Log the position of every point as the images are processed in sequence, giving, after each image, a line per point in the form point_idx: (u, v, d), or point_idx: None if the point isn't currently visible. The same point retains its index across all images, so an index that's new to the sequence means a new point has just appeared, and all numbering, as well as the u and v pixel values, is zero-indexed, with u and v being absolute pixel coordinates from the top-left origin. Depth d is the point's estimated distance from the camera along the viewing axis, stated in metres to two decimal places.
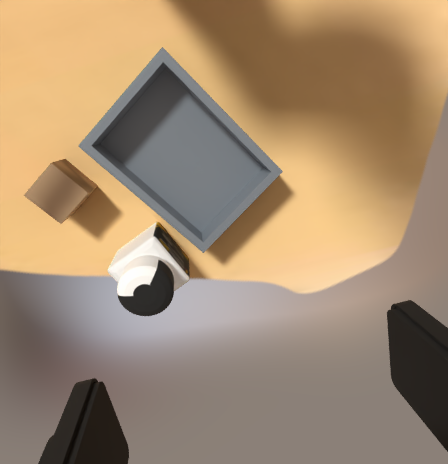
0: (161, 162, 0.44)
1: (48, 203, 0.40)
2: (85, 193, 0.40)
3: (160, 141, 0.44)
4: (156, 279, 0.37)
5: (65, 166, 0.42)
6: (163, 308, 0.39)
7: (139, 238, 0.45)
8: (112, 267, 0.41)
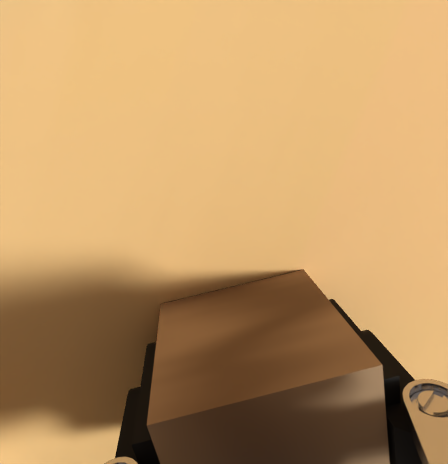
0: None
1: (273, 433, 0.07)
2: None
3: None
4: None
5: None
6: None
7: None
8: None
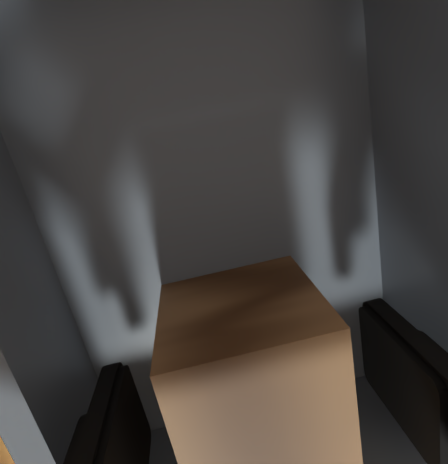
0: (291, 244, 0.13)
1: (258, 386, 0.09)
2: None
3: None
4: None
5: None
6: None
7: None
8: None
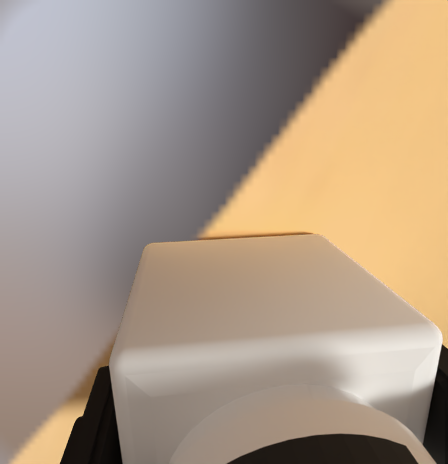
0: None
1: None
2: None
3: None
4: None
5: None
6: None
7: None
8: (436, 361, 0.08)
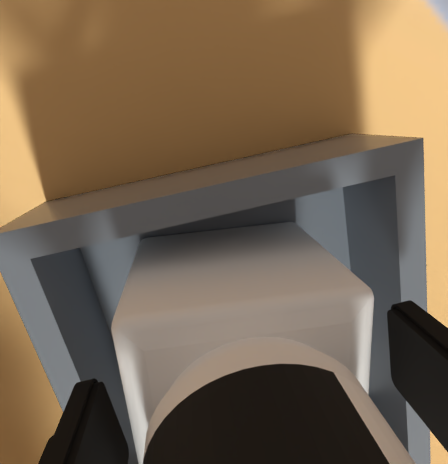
0: None
1: None
2: None
3: None
4: None
5: None
6: None
7: None
8: (371, 315, 0.10)
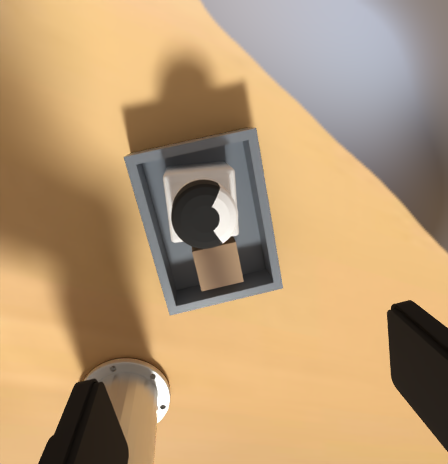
0: None
1: (215, 255, 0.39)
2: (202, 289, 0.40)
3: None
4: (214, 239, 0.31)
5: None
6: (175, 224, 0.31)
7: None
8: (234, 176, 0.35)
